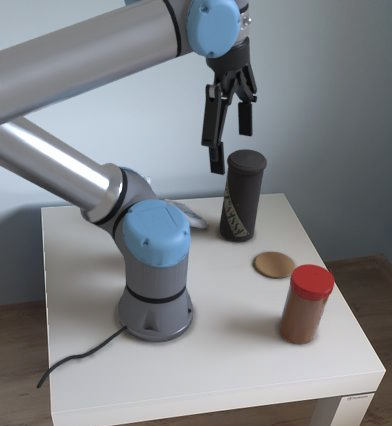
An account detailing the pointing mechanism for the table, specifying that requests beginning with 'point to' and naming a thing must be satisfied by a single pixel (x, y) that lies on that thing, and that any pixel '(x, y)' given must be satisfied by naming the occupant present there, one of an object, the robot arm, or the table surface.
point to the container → (241, 195)
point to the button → (189, 214)
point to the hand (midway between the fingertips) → (232, 153)
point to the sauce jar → (300, 318)
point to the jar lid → (312, 282)
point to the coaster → (274, 265)
